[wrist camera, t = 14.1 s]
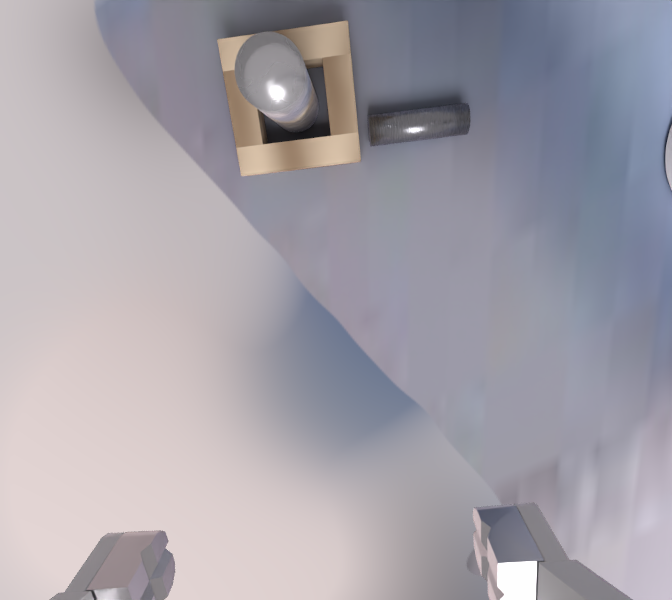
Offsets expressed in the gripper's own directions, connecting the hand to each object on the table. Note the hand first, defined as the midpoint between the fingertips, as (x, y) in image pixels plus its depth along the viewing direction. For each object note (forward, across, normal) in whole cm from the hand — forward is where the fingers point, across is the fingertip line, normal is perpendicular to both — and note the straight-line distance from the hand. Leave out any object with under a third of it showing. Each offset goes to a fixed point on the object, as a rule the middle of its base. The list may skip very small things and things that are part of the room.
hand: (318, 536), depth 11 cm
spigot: (+29, +2, -15) cm, 33 cm away
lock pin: (+29, -8, -12) cm, 33 cm away
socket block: (+29, +2, -15) cm, 33 cm away
